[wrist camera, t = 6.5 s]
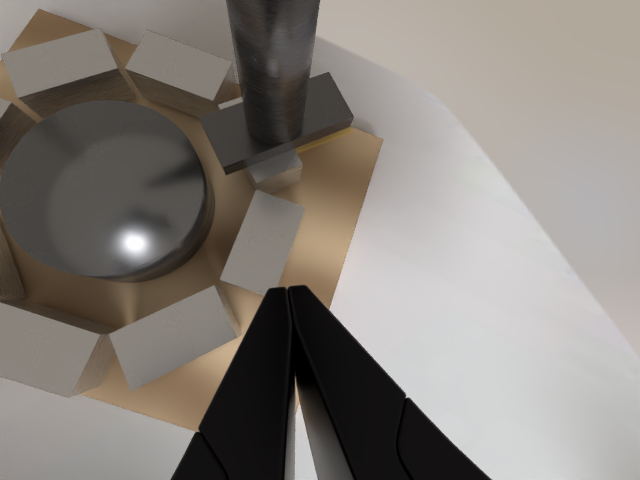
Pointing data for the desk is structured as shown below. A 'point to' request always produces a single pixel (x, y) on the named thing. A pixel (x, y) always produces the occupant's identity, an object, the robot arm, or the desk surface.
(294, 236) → the block ring with rod
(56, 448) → the desk surface
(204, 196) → the grey metal puck
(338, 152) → the oak board
